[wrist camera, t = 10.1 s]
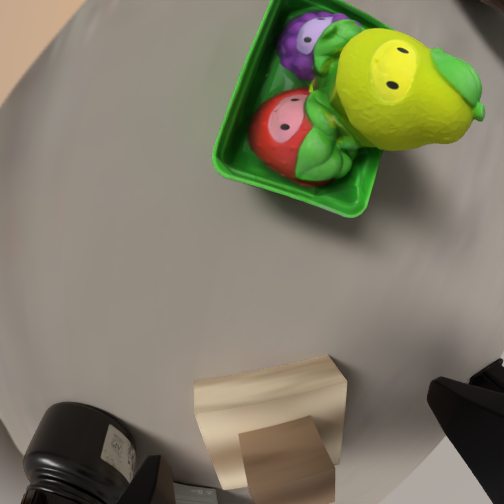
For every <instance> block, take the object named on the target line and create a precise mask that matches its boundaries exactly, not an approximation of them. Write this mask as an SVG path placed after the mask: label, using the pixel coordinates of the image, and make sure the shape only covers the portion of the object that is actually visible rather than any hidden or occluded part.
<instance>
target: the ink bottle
mask: <svg viewBox="0 0 504 504" xmlns="http://www.w3.org/2000/svg"><path fill="white" fill-rule="evenodd" d="M135 458H136V446H135V443H134V440H133V438H132V436H131V435H130V433H129V432H128V431H127V430H126V429H125V428H124V427H123V426H122V425H121V424H120V423H119V422H117V421H116V420H114V419H113V418H111V417H110V416H108V415H106V414H104V413H102V412H100V411H98V410H96V409H93V408H91V407H88V406H85V405H81V404H77V403H70V402H61V403H57V404H54V405H52V406H51V407H50V408H48V410H47V411H46V412H45V414H44V416H43V418H42V420H41V422H40V424H39V426H38V428H37V430H36V432H35V434H34V436H33V438H32V440H31V442H30V444H29V446H28V449H27V451H26V453H25V455H24V459H23V469H24V472H25V474H26V477H27V478H28V480H29V482H30V485H29V486H28V487H27V489H26V493H25V494H24V496H23V499H22V501H21V504H116V502H117V501H118V499H119V498H120V496H121V495H122V493H123V492H124V491H125V489H126V488H127V486H128V485H129V483H130V482H131V480H132V479H133V473H134V465H135Z"/></svg>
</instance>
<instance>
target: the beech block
mask: <svg viewBox="0 0 504 504" xmlns="http://www.w3.org/2000/svg"><path fill="white" fill-rule="evenodd" d="M346 393H347V380H346V379H345V378H344V376H343V375H342V373H341V372H340V371H339V369H338V368H337V367H336V365H335V364H334V362H333V361H332V360H331V358H330V357H329V355H324V356H320V357H316V358H312V359H308V360H304V361H299V362H295V363H291V364H286V365H282V366H277V367H272V368H267V369H262V370H257V371H252V372H247V373H241V374H235V375H229V376H223V377H217V378H210V379H204V380H196V381H194V414H195V417H196V420H197V423H198V426H199V429H200V431H201V434H202V437H203V440H204V443H205V445H206V448H207V451H208V453H209V456H210V459H211V461H212V464H213V466H214V469H215V471H216V474H217V476H218V479H219V481H220V484H221V486H222V488H223V490H229V489H236V488H242V487H248V484H247V479H246V474H245V469H244V463H243V458H242V453H241V447H240V442H239V436H238V434H239V433H244V432H248V431H253V430H257V429H261V428H265V427H269V426H273V425H277V424H281V423H285V422H289V421H292V420H296V419H299V418H303V417H306V416H309V415H310V416H311V418H312V420H313V422H314V424H315V426H316V429H317V431H318V433H319V435H320V437H321V439H322V441H323V443H324V446H325V448H326V450H327V452H328V454H329V456H330V458H331V460H332V462H333V465H338V464H339V461H340V453H341V445H342V437H343V427H344V417H345V406H346Z"/></svg>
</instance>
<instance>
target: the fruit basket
mask: <svg viewBox="0 0 504 504" xmlns="http://www.w3.org/2000/svg"><path fill="white" fill-rule="evenodd" d="M481 94H482V85H481V81H480V78H479V76H478V74H477V73H476V71H475V70H474V69H473V67H472V66H471V65H469V64H468V63H466V62H465V61H463V60H461V59H459V58H456V57H453V56H451V55H449V54H446V53H445V52H444V51H443V50H442V49H441V48H435V49H433V50H430V49H429V48H427V47H426V46H424V45H423V44H422V43H421V42H419V41H417V40H416V39H414V38H412V37H410V36H408V35H406V34H404V33H401V32H397V31H395V30H393V29H392V28H390V27H389V26H387V25H385V24H383V23H381V22H380V21H378V20H377V19H375V18H373V17H372V16H370V15H369V14H367V13H365V12H363V11H361V10H360V9H358V8H356V7H354V6H352V5H350V4H348V3H346V2H344V1H342V0H270V3H269V5H268V7H267V10H266V12H265V14H264V17H263V20H262V22H261V24H260V27H259V29H258V31H257V34H256V36H255V39H254V41H253V43H252V46H251V48H250V51H249V53H248V56H247V58H246V60H245V63H244V65H243V68H242V71H241V73H240V75H239V79H238V81H237V84H236V87H235V89H234V92H233V95H232V98H231V101H230V103H229V106H228V109H227V111H226V114H225V117H224V120H223V123H222V125H221V128H220V131H219V134H218V137H217V140H216V142H215V145H214V148H213V152H212V163H213V166H214V168H215V170H216V171H217V172H218V173H219V174H220V175H221V176H223V177H225V178H227V179H230V180H234V181H238V182H242V183H245V184H249V185H252V186H256V187H259V188H262V189H266V190H269V191H272V192H275V193H278V194H282V195H285V196H288V197H291V198H294V199H297V200H300V201H303V202H305V203H308V204H311V205H314V206H317V207H319V208H322V209H325V210H327V211H330V212H333V213H335V214H338V215H340V216H343V217H346V218H355V217H357V216H359V215H361V214H362V213H363V212H364V211H365V209H366V208H367V205H368V202H369V199H370V195H371V192H372V188H373V185H374V181H375V177H376V174H377V171H378V167H379V163H380V159H381V156H382V152H383V150H386V151H402V150H410V149H414V148H417V147H421V146H423V145H426V144H432V143H438V144H449V143H453V142H456V141H458V140H459V139H460V138H461V137H462V136H463V135H464V134H465V132H466V131H467V130H468V128H469V127H470V125H471V123H472V121H473V120H474V119H476V120H478V121H483V119H484V116H485V109H484V105H483V104H482V103H480V102H479V100H480V97H481Z"/></svg>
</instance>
